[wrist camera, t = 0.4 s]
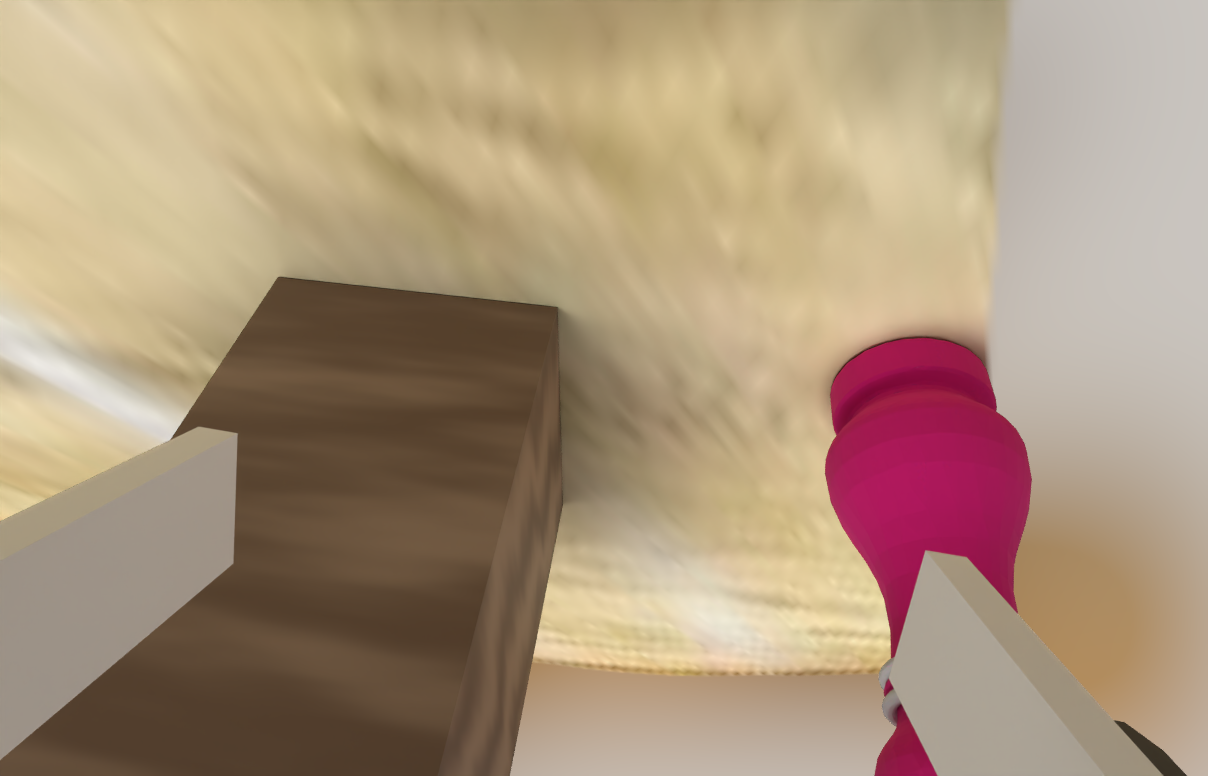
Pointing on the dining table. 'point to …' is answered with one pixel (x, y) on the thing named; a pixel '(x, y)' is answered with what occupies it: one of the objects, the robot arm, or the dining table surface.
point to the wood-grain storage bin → (352, 553)
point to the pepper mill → (923, 486)
